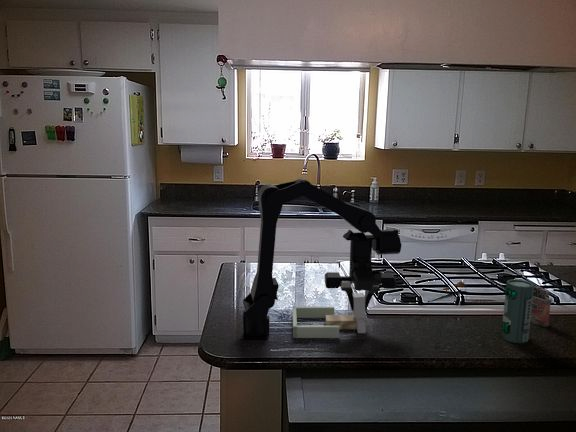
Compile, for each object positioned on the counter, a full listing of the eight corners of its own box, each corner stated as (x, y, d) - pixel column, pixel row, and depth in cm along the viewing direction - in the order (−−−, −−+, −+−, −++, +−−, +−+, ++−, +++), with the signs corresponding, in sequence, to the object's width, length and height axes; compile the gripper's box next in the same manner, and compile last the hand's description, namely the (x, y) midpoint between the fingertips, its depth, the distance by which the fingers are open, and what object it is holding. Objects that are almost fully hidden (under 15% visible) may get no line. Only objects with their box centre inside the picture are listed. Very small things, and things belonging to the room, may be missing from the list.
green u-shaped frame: (293, 337, 123) (293, 327, 122) (292, 316, 136) (292, 306, 136) (339, 337, 123) (339, 327, 122) (333, 316, 136) (334, 306, 136)
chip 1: (326, 329, 128) (326, 320, 127) (325, 323, 132) (325, 314, 131) (341, 329, 128) (341, 320, 128) (339, 323, 132) (339, 314, 131)
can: (505, 330, 127) (510, 277, 124) (530, 337, 123) (536, 282, 120) (499, 338, 122) (504, 283, 120) (524, 345, 119) (530, 289, 116)
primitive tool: (427, 303, 147) (427, 293, 147) (414, 298, 152) (414, 288, 151) (467, 292, 157) (468, 282, 156) (454, 288, 162) (454, 278, 161)
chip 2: (341, 329, 128) (341, 320, 127) (339, 323, 132) (340, 314, 131) (356, 329, 128) (356, 320, 127) (354, 323, 132) (354, 314, 131)
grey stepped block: (356, 333, 125) (355, 301, 123) (351, 319, 134) (350, 289, 132) (367, 332, 125) (366, 300, 123) (362, 319, 134) (361, 289, 132)
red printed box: (518, 316, 137) (522, 283, 135) (527, 314, 138) (530, 282, 136) (543, 327, 129) (547, 292, 127) (551, 325, 131) (555, 291, 129)
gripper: (328, 263, 118) (327, 322, 121) (402, 264, 118) (399, 322, 121) (324, 251, 129) (323, 305, 132) (393, 252, 129) (390, 306, 132)
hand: (358, 310), depth 129 cm, fingers closed on grey stepped block, 3 cm apart
